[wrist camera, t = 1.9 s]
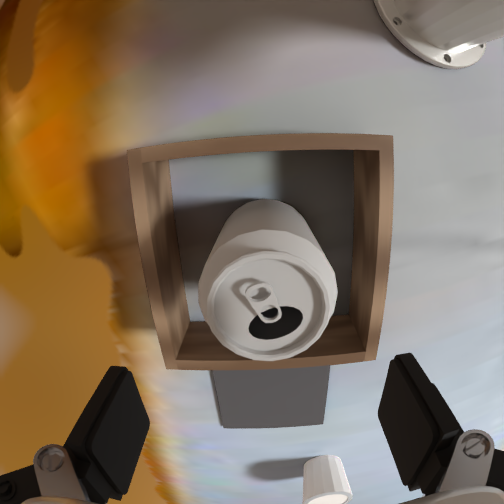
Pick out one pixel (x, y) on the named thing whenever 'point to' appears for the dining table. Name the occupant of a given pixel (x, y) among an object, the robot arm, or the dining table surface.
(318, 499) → the shot glass
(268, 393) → the mat
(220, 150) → the crate
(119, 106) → the dining table surface
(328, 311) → the can
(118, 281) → the dining table surface
